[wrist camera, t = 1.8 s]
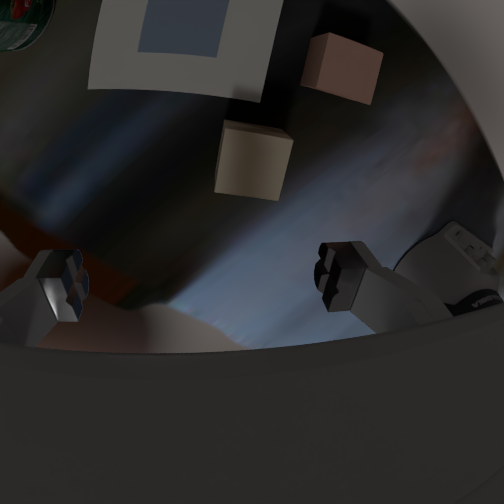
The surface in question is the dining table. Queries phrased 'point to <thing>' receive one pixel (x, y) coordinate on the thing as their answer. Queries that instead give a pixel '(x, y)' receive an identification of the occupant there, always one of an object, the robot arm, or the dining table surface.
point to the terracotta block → (342, 67)
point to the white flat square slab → (185, 46)
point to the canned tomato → (23, 22)
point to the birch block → (252, 160)
